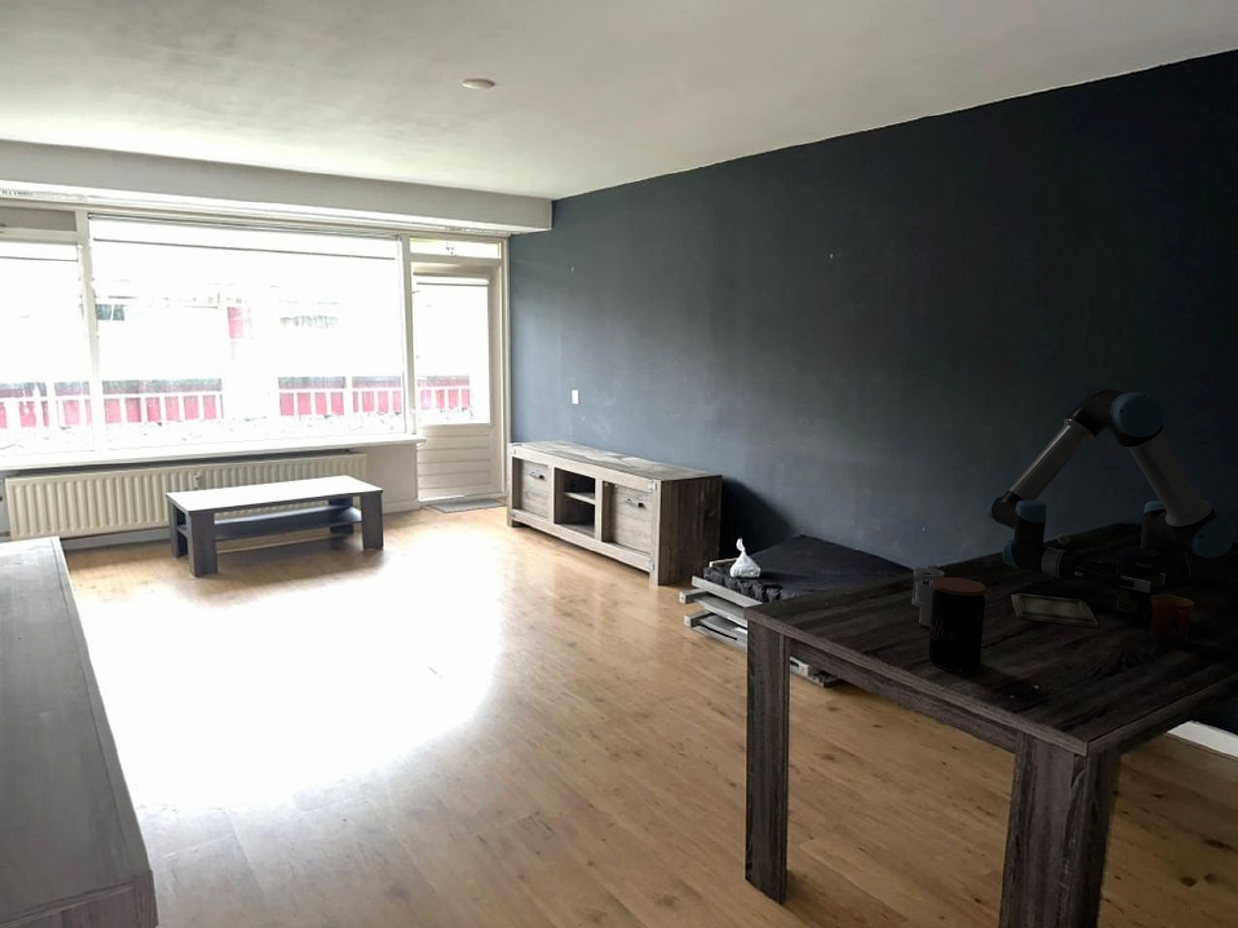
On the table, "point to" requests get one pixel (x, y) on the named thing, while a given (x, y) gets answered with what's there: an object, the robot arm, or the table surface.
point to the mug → (1170, 619)
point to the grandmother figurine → (1063, 543)
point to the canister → (1140, 567)
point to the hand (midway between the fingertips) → (1157, 583)
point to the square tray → (1053, 610)
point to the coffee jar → (956, 623)
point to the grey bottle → (925, 591)
